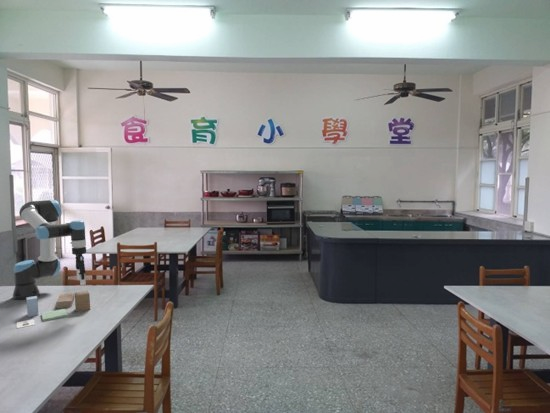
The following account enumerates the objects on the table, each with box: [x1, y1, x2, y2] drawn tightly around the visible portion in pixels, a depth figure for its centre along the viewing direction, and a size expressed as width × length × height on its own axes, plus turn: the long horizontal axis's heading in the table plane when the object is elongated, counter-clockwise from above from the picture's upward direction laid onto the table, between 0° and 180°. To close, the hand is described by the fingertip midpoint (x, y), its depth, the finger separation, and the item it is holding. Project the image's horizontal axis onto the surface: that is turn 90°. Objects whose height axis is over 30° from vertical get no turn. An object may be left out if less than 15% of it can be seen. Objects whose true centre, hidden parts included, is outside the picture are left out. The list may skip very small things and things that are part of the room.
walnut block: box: [74, 290, 91, 313], centre depth 231 cm, size 7×7×10 cm
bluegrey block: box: [25, 296, 39, 318], centre depth 224 cm, size 5×5×10 cm
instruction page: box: [16, 318, 35, 329], centre depth 210 cm, size 10×8×1 cm
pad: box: [40, 308, 68, 322], centre depth 221 cm, size 12×12×1 cm
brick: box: [55, 292, 75, 310], centre depth 242 cm, size 17×8×5 cm, turn 21°
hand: (81, 282), depth 230 cm, fingers open, 13 cm apart
